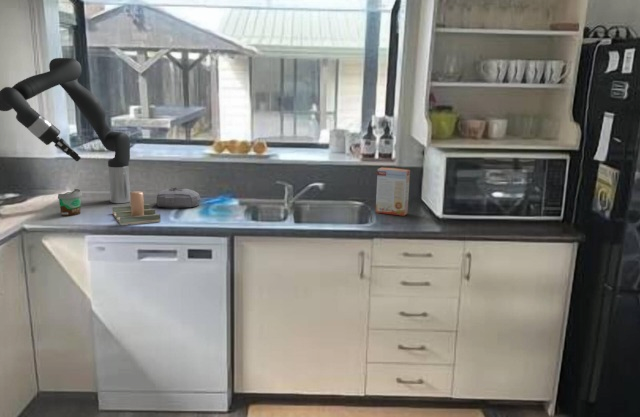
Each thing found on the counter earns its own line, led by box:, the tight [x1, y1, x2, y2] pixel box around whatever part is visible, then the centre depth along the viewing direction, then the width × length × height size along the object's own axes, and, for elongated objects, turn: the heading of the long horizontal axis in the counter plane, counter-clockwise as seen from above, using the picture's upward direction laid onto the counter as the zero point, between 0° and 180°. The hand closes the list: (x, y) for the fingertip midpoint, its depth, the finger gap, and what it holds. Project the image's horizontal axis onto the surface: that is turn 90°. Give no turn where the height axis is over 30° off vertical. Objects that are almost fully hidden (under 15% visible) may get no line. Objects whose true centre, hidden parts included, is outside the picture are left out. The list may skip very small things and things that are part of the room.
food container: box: [57, 188, 83, 217], centre depth 246 cm, size 12×6×10 cm, turn 168°
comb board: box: [111, 203, 161, 226], centre depth 244 cm, size 21×16×3 cm
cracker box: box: [375, 167, 411, 217], centre depth 262 cm, size 14×6×21 cm, turn 65°
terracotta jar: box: [130, 190, 145, 217], centre depth 239 cm, size 5×5×11 cm
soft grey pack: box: [156, 187, 201, 209], centre depth 268 cm, size 15×8×20 cm
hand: (77, 158), depth 227 cm, fingers open, 8 cm apart
